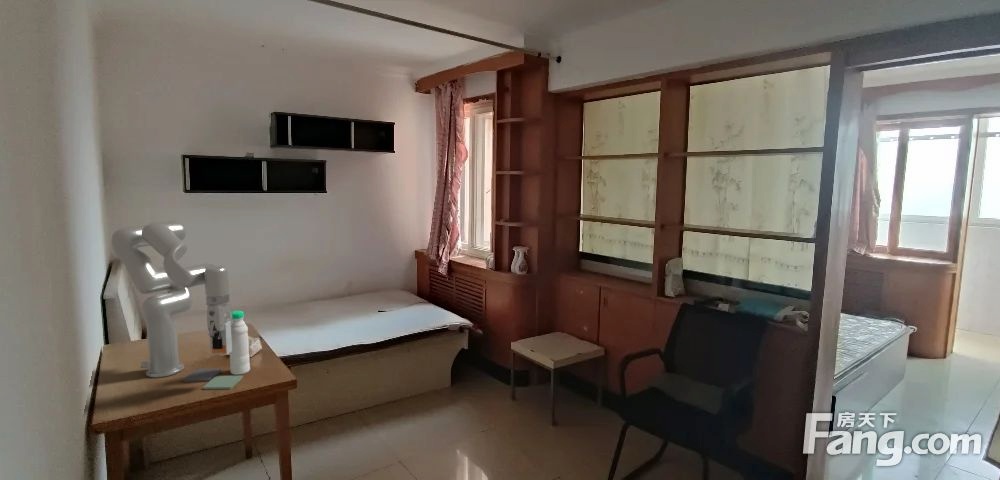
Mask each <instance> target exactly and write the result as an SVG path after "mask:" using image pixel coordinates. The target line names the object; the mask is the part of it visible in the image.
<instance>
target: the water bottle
mask: <svg viewBox="0 0 1000 480" xmlns="http://www.w3.org/2000/svg"><path fill="white" fill-rule="evenodd" d="M244 317H245V314H244V311H242V310H235V311H232V319H233V323H232V325H231V340H232V351H231V352H230V353H229V364H230V366H229V367H230V368H229V369H230V370H229V371H230V373H231V375H233V376H241V375H244V374H247V373H248V372H249V371H250V370H251V364H250V353H249V351H250V343H249V342H250V341H249V340H250V339H249V334H248V331H249V327H248V325H247V324H246V322H245V321H244Z"/></svg>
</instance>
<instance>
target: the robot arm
mask: <svg viewBox="0 0 1000 480" xmlns="http://www.w3.org/2000/svg"><path fill="white" fill-rule="evenodd" d="M186 235H187V232H186V228H185V226H184V225H183V224H181V223H180V222H178V221H176V220H171V221H170V220H169V221H158V222H152V223H148V224H145V225H144V224H143V225H142V224H141V225H133V226H132V225H131V226H125V227H122V228H118V229H117V230H115V231H114V232H113V233H112V236H111V247H112V249H113V252H114V254H115V256H117V258H118V259H119V260H120V261H121V263H122V264H123V265H124V267H125V268H126V269H125V270H126V271H127V273H128V275H129V277H130V279H131V281H132V283H133V285H134V287H135V289H136V290H137V292H138V293H140V294H141V295H150V294H155V293H159V294H155V295H151V296H149V297H147V298H146V299H145V300H143V301H142V303H141V311H142V315H143V318H144V320H145V322H144V323H145V326H146V335H147V343H148V344H147V345H148V354H149V356H148V357H149V360H142V361H141V362H140V368H142V369H143V368H145V369H146V368H147V369H146V370H145V375H146V376H147V377H150V378H163V377H169V376H172V375H175V374H176V375H177V374H178V373H180V372H182V371H183V370H184V369H185V364H184V363H182V362H180V360H179V359H180V356H179V346H178V345H179V344H178V333H177V332H178V330H177V325H176V324H175V322H174V321H172V319H171V318H170V317H173V316H176V315H178V314H181V313H182V314H183V313H185V312H188V311H189V310H191V308H192V307H193V304H194V303H193V297H192V295H191V291H190V290H189V288H193V287H198V286H202V285H204V290H205V291H204V292H205V301H206V306H207V307H206V308H207V309H206V324H207V330H208V336H209V337H210V336H211V337H212V342H213V349H222V348H223V346H222V338H221V331H223V330H225V324H226V323H227V322H229V321H231V325H232V323H233V319H232V312H233V311H232V305H231V301H230V288H229V287H230V286H229V275H228V273H229V272H228V268H227V267H226V266H223V265H215V264H212V263H201V264H196V265H192V266H191V265H190V266H186V267H185V266H183V265H182V264H180V262H178V261H179V260H180V259H182V258H183V257H184V256H185V254H186V253H187V250H188V247H187V244H186V243H185V242H184V241H183V240H184V239H185V237H186ZM142 247H143V248H144V247H151V248H153V249H154V250H155V251H156V252H157V253H158V254H159V255H160V256H161V257H163V266H161V267H156V266H155V265H154V263H153V261H152V259H151V258H150V256H149V255H148V254H146V253H145V252H144V251H142V250H140V249H139V248H142ZM164 291H166V292H164ZM160 292H163V293H160ZM215 329H217V330H215ZM215 332H218V335H217V333H215Z"/></svg>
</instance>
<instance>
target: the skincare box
mask: <svg viewBox="0 0 1000 480" xmlns="http://www.w3.org/2000/svg"><path fill="white" fill-rule="evenodd" d="M215 330H217V329H215ZM215 333H217V335H218V332H215ZM221 338H222V346H223V348H222V349H213V342H212V337H211V336H210V335H209V344H210V355H212V356H213V355H214V356H215V355H220V356H221V355H223V356H224V355H226V356H227V355H230V352H231V351H232V340H231V321H229V322H227V323H226V324H225V330H223V331H221Z"/></svg>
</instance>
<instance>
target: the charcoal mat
mask: <svg viewBox="0 0 1000 480" xmlns="http://www.w3.org/2000/svg"><path fill="white" fill-rule="evenodd" d="M222 371H223V368H195V370H193V371H192V372H190V373H189V374H188V375H187V376H185V377H184V378H182V379H181V380H182V382H210V381H211V380H212V379H213V378H214V377H216V376H219V374H220V373H221V372H222Z"/></svg>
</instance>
